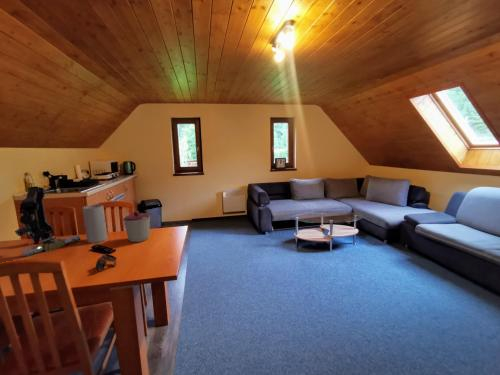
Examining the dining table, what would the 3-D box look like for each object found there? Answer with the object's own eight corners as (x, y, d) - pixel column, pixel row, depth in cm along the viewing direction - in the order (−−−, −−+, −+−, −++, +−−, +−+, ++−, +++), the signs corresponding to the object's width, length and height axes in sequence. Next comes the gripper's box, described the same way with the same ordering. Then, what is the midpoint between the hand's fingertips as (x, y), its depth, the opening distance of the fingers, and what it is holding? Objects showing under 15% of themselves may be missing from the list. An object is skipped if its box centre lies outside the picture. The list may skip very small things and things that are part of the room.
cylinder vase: (111, 238, 184) (106, 205, 180) (93, 244, 174) (88, 209, 170) (102, 236, 191) (97, 204, 187) (84, 241, 180) (79, 207, 177)
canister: (146, 233, 192) (143, 206, 189) (157, 239, 180) (154, 210, 177) (121, 240, 180) (117, 211, 176) (131, 246, 167) (127, 215, 164)
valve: (22, 255, 160) (20, 245, 159) (77, 240, 185) (76, 231, 184) (25, 257, 156) (23, 247, 155) (81, 241, 181) (80, 233, 180)
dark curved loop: (97, 266, 141) (104, 252, 143) (114, 272, 142) (120, 257, 144) (88, 270, 129) (96, 255, 131) (107, 276, 131) (114, 261, 132)
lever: (53, 237, 172) (53, 235, 171) (56, 238, 170) (56, 236, 170) (28, 245, 159) (28, 243, 159) (31, 245, 157) (31, 243, 157)
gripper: (9, 223, 155) (14, 247, 157) (21, 225, 146) (27, 251, 148) (31, 218, 165) (36, 241, 167) (44, 220, 155) (49, 244, 158)
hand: (36, 244), depth 160 cm, fingers closed
